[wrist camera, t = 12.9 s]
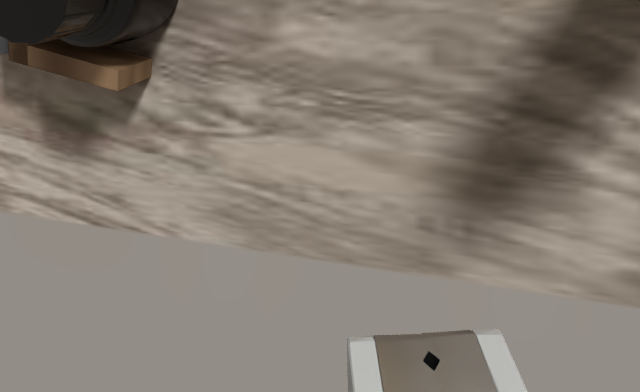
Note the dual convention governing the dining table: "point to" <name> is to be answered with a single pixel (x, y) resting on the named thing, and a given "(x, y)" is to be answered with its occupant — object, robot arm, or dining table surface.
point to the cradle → (84, 63)
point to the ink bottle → (81, 20)
